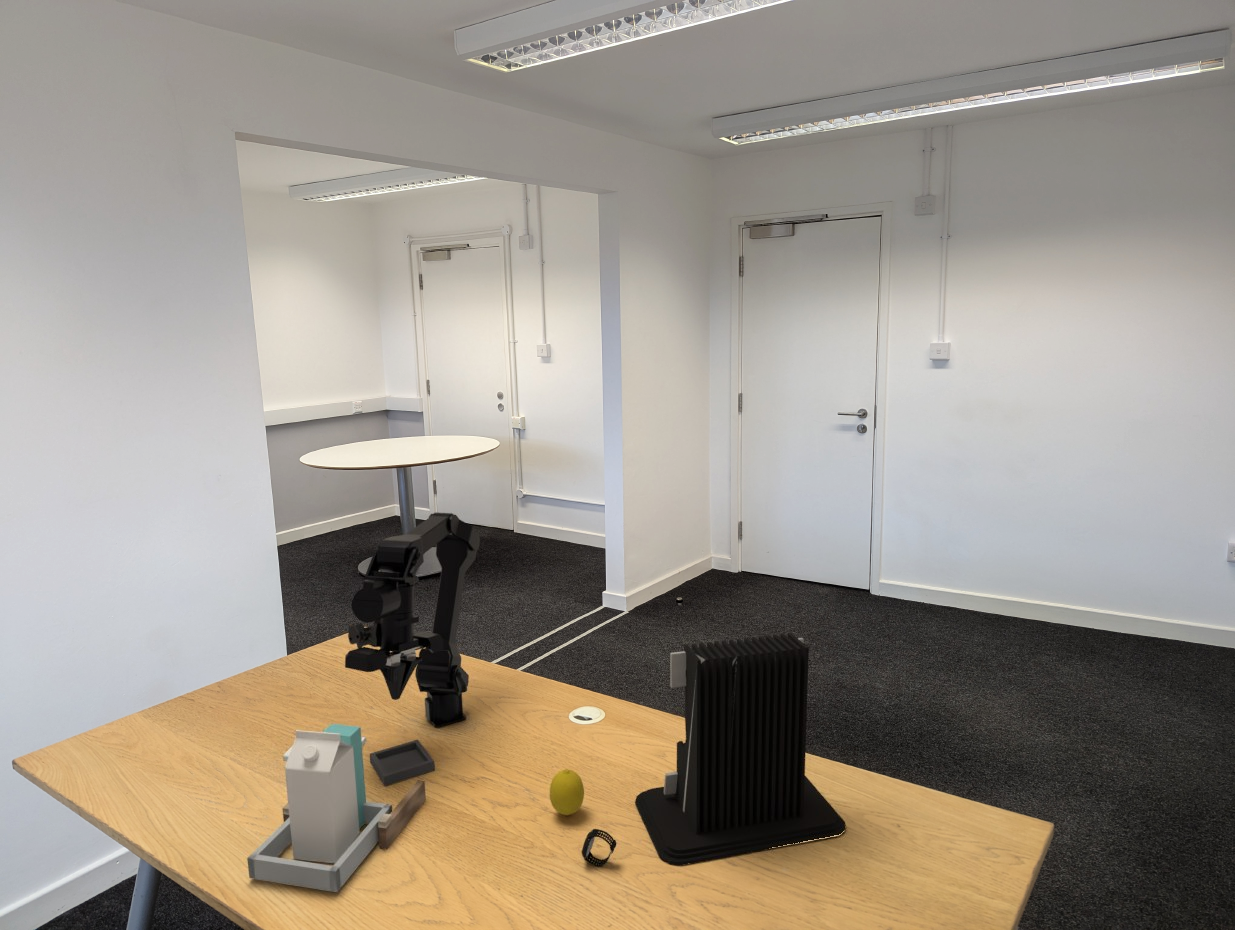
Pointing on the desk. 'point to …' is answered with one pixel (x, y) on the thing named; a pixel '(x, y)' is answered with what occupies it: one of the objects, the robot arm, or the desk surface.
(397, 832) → the channel
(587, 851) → the smartwatch
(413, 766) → the tray
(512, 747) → the desk surface
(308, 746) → the milk carton
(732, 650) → the black ribbed block
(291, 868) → the tray
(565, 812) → the lemon
